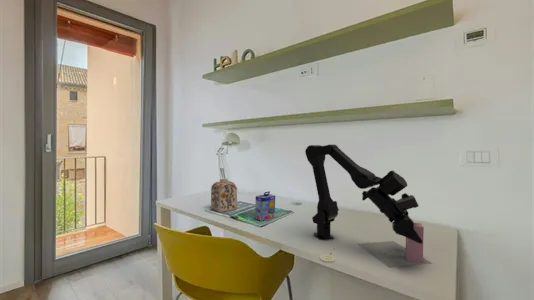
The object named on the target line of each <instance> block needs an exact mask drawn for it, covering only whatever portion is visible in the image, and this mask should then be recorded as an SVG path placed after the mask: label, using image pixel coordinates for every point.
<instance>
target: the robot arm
mask: <svg viewBox="0 0 534 300" xmlns="http://www.w3.org/2000/svg"><path fill="white" fill-rule="evenodd" d="M327 155H329V156H330V157H331V158H332V159H333V160H334V161H335V162H337V164H338V165H339V166H341V168H343V169H344V170H345V171H346V172H347V174H348V175H349V176H350V178H351V181H352V182H353V183H354V185H355V186H356V187H357V188H358V189H361V190H363V191H362V193H361V195H362V199H361V201H366V200H368V199H369V201H371V203H373V204H374V205H375V206H376V207H377V208H378V209H379V212H380V213H381V214H384V216H385V217H386V218H387V219H388V221H389V222H390V223H391V228H392V230H393V231H394V233H395V234H396V235H399V236H402V237H405V238H406V237H407V238H409V239H411V240H413V241H415V242H417V243H420V244H421V243H422V242H423V243H424V240H423V241H422V239H421V238H420V237H419V235H418V234H417V232H416V231H415V230H414V223H415V222H414V221H413V219H412V218H411V217H410V216H409V211H408V210H410V209H415V208H419V206H420V205H419V203H418V202H417V199H416V197H415V195H411V194H410V195H409V194H407V193H405V192H404V193H402V194H401V196H400V197H401V198H399V199H395V198H392V197H391V196H395V195H397V194H398V193H400V192H401V191H402V190H404V189H405V188H407V187H408V183H407V181H406V179H405V178H404V177H403V176H401V175H400V174H398V173H397V172H396V171H395V170H390V171H389V172H387V174H386V175H385V176H383V177H380V176H376V174H375V173H373V172H372V171H370V170H368V169H367V168H365V167H362V166H361V165H358V164H357V163H356V162H355V161H354V160H353V159H352V158H350V157H349V156H348V155H347V154H346V153H345V152H344V151H343V150H342V149H341V148H339V146H338V145H337V144H326V145H321V144H315V145H314V144H311V145H308V146H307V147H306V149H305V157H306V159H307V161H308V162H309V164H310V165H311V168H312V173H313V176H314V182H315V187H316V191H317V192H316V193H317V195H318V202H317V206H316V208H317V209H316V212H317V213H315V214H314V215H313V216H312V217H311V219H312V223H313V224H316V232H313V235H314V236H315V237H317V239H318V240H330V239H331V240H332V239H334V236H333V235H332V234H331V223H332V222H335V219H336V218H337V217H338V215H339V211H340V210H339V206H338V201H336V200H334V199H332V197H331V194H330V189H329V184H328V179H327V174H326V170H325V168H326V167H325V161H326V156H327ZM374 186H377V187H374ZM366 189H368V190H367V191H366Z"/></svg>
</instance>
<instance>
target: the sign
mask: <svg viewBox="0 0 534 300" xmlns="http://www.w3.org/2000/svg"><path fill="white" fill-rule="evenodd" d="M332 250H333V251H334V250H336V247H334V248H333V249H332ZM319 260H320V261H321V262H323V263H326V264H327V263H335V261H336V257H335V256H334V255H332V252H330V253H329V254H326V253H325V254H320V255H319Z"/></svg>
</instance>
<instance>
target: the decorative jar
mask: <svg viewBox="0 0 534 300" xmlns="http://www.w3.org/2000/svg"><path fill="white" fill-rule="evenodd" d="M237 189H238V187H237V186H236V184H235V182H233V181H229V179H228V178H220V179H219V181H216V182H214V183H213V184H212V185H211V187H210V209H212V210H214V211H216V212H219V213H225V212H230V211H235V210H234V209H236V210H237V209H238V190H237ZM229 210H230V211H229ZM224 211H225V212H224Z"/></svg>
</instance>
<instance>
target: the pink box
mask: <svg viewBox="0 0 534 300" xmlns="http://www.w3.org/2000/svg"><path fill="white" fill-rule="evenodd" d="M414 230H415V231H416V232H417V234H418V235H419V237H420V238H421V239H422V241H423V242H422V243H421V244H420V243H417V242H415V241H413V240H411V239H409V238H407V237H405V248H406V252H405V256H406V259H407V261H410V262H417V263H423V258H424V232H425V231H424V226H423V224H422V223H421V222H414Z"/></svg>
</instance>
